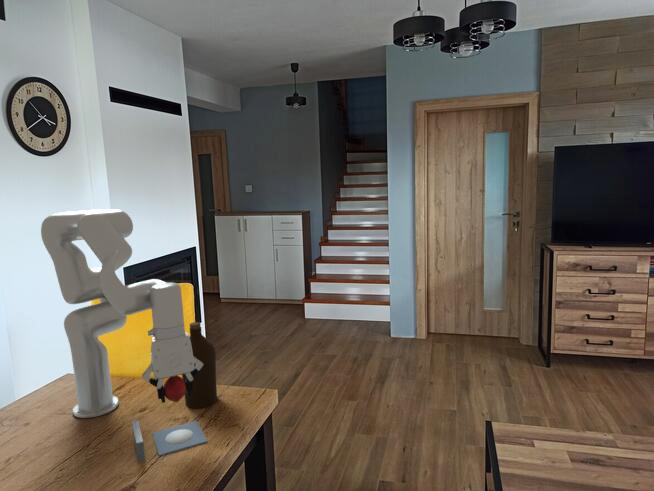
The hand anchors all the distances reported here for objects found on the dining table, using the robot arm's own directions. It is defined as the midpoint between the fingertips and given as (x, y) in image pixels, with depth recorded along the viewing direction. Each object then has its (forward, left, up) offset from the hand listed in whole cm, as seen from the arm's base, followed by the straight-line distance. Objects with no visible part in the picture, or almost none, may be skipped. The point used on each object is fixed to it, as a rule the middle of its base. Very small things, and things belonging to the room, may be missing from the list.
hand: (175, 396), depth 122 cm
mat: (0, 0, -12) cm, 12 cm away
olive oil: (-18, +10, -12) cm, 24 cm away
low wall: (0, -10, -12) cm, 15 cm away
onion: (0, 0, -2) cm, 2 cm away
